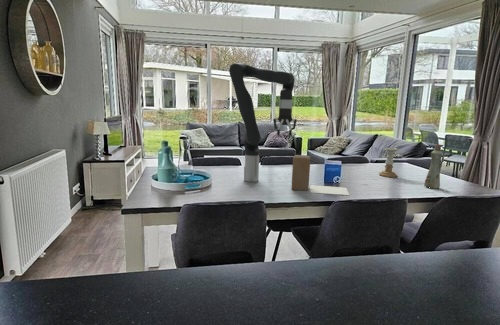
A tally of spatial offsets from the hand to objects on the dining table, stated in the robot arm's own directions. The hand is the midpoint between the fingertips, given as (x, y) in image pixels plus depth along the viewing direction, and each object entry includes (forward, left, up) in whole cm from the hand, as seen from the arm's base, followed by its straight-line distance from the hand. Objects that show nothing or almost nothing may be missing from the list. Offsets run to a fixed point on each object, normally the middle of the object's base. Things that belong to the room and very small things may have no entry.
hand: (284, 136), depth 193 cm
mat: (+28, 0, -32) cm, 42 cm away
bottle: (+94, +24, -32) cm, 102 cm away
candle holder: (+74, +52, -32) cm, 96 cm away
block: (+11, 0, -32) cm, 34 cm away
